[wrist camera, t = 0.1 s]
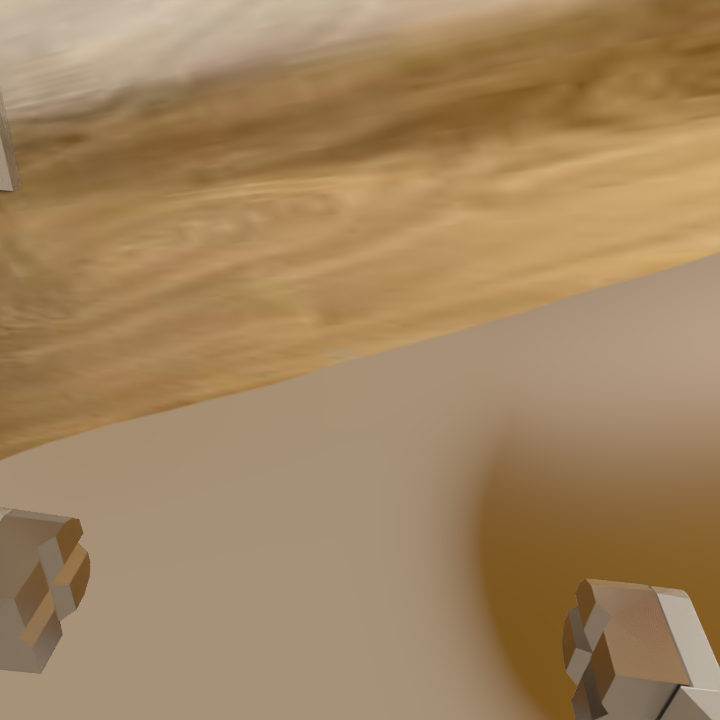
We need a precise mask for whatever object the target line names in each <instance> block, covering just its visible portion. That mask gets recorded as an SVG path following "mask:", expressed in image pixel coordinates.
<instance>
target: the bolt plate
mask: <svg viewBox="0 0 720 720" xmlns="http://www.w3.org/2000/svg"><path fill="white" fill-rule="evenodd" d="M20 187H22V183H21V179H20V174H19V170H18V165H17V161H16V156H15V152H14V147H13V143H12V138H11V134H10V129H9V125H8V120H7V116H6V111H5V107H4V102H3V98H2V93H1V89H0V190H6V191H14V190H16V189H18V188H20Z"/></svg>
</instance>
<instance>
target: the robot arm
mask: <svg viewBox="0 0 720 720" xmlns="http://www.w3.org/2000/svg"><path fill="white" fill-rule="evenodd" d="M82 535H83V530H82V527H81V524H80V520H79V519H76V518H71V517H64V516H57V515H51V514H44V513H37V512H30V511H24V510H17V509H9V508H1V507H0V670H8V671H19V672H28V673H38V674H41V673H42V671H43V669H44V667H45V665H46V663H47V662H48V660H49V658H50V656H51V655H52V653H53V651H54V649H55V647H56V646H57V644H58V642H59V640H60V638H61V637H62V629H61V624H60V621H61V620H62V619H64V618H65V617H67V616H68V615H69V614H71V613H72V612H74V611H75V610H76V609H77V607H78V606H79V604H80V602H81V600H82V598H83V596H84V594H85V590H86V587H87V584H88V580H89V577H90V559H89V555H88V552H87V551H86V550H85V549H84V548H83V547H82V546H81V545H80V544H79V543H78V541H79V540H80V538H81V536H82ZM575 594H576V599H577V603H578V606H576V607H574V608H573V609H571V610H569V611H568V613H567V616H566V619H565V621H564V624H563V635H562V652H563V660H564V665H565V671H566V673H567V674H568V675H569V676H570V677H571V679H572V680H573V681H574V682H575V684H576V685H577V689H576V691H575V693H574V696H573V698H572V700H571V701H572V706H573V711H574V715H575V720H720V668H719V666H718V664H717V661H716V659H715V656H714V654H713V652H712V649H711V647H710V645H709V642H708V640H707V638H706V635H705V633H704V631H703V628H702V626H701V624H700V621H699V619H698V617H697V614H696V612H695V610H694V607H693V605H692V603H691V600H690V598H689V596H688V595H687V594H686V593H685V592H684V591H683V590H678V589H669V588H661V587H653V586H646V585H640V584H631V583H621V582H613V581H603V580H594V579H584V580H582V581H581V582H580V583H579V585H578V588H577V590H576V593H575Z"/></svg>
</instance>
